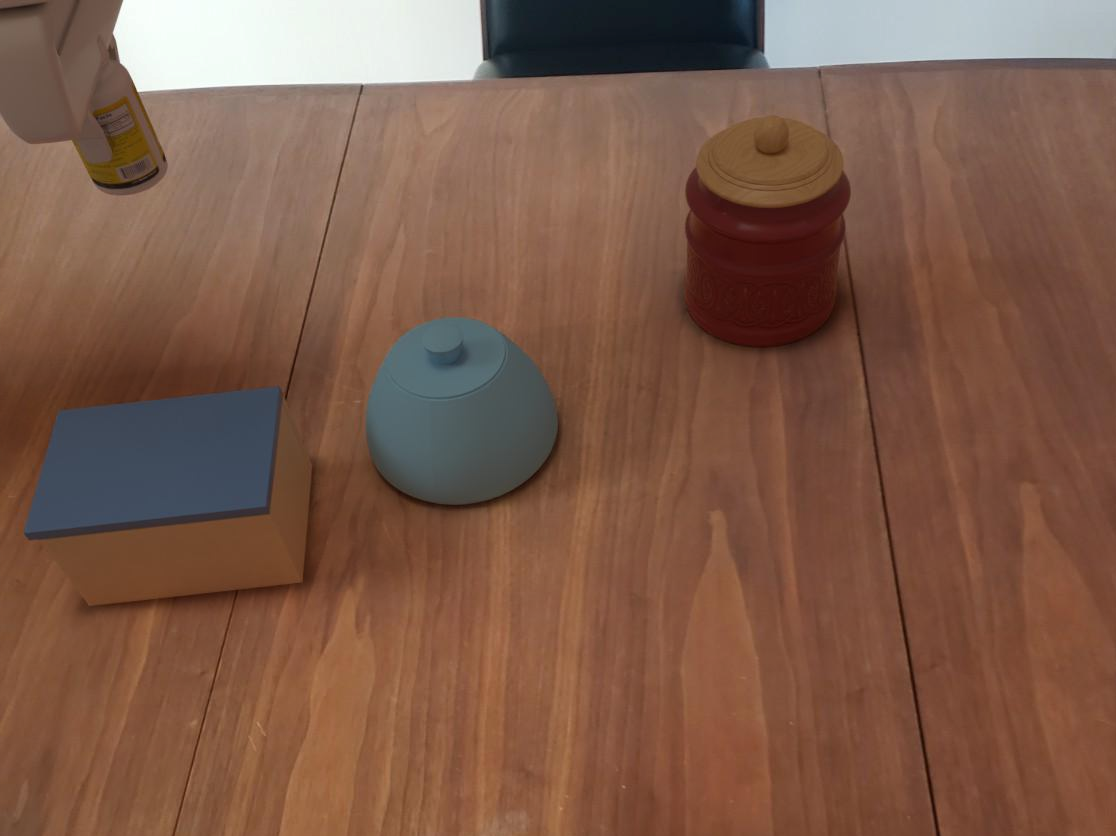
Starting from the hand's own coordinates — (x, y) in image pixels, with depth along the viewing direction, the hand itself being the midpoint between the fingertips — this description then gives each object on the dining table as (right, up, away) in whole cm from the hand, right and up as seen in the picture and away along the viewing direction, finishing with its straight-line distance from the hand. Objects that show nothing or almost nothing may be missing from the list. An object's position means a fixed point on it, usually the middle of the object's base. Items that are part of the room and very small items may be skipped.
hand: (110, 130), depth 75 cm
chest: (+4, -28, +8) cm, 30 cm away
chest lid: (+3, -23, 0) cm, 23 cm away
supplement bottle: (0, -2, +3) cm, 4 cm away
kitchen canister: (+48, -7, +20) cm, 52 cm away
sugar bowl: (+23, -21, +12) cm, 33 cm away
